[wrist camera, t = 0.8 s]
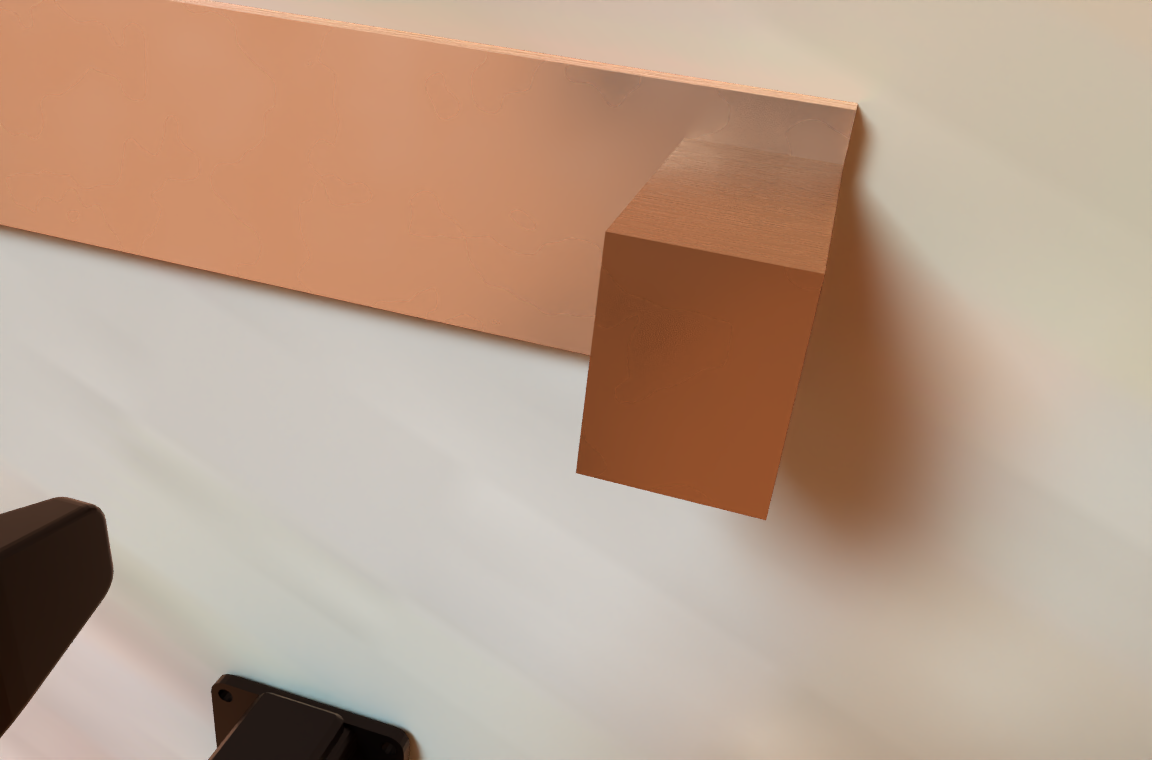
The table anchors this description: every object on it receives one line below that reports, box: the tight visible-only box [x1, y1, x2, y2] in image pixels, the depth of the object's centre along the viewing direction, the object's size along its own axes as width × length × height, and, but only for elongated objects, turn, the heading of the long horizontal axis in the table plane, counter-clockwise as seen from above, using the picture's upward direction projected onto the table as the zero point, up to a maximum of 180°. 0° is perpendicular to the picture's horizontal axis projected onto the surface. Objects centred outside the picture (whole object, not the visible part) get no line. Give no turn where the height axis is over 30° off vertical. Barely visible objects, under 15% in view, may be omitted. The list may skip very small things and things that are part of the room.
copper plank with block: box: [0, 0, 858, 520], centre depth 19 cm, size 26×6×7 cm, turn 84°
